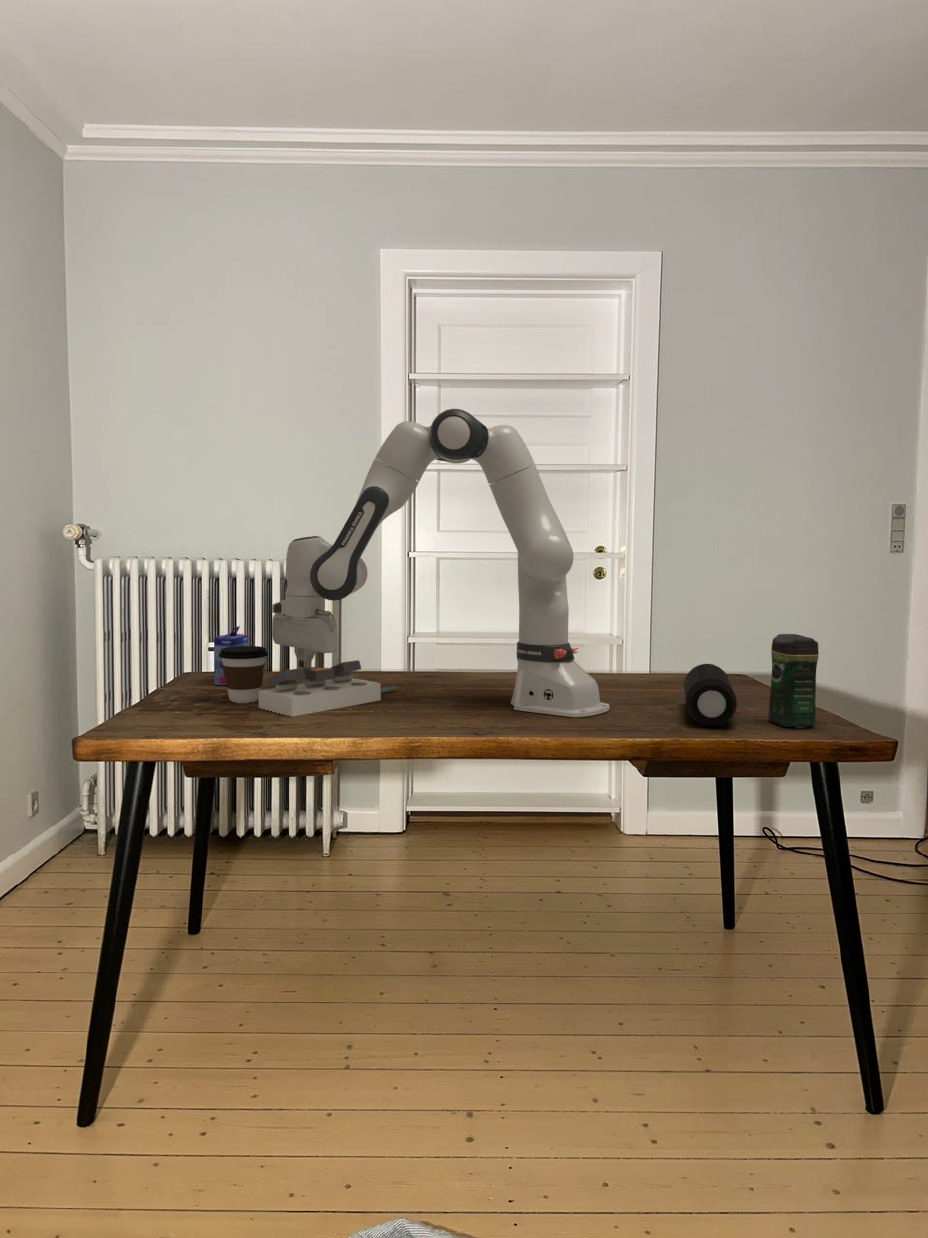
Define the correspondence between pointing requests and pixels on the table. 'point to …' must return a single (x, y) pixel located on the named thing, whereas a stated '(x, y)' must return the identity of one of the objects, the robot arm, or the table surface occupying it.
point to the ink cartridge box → (224, 642)
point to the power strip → (320, 695)
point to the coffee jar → (793, 680)
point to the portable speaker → (709, 695)
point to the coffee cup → (243, 672)
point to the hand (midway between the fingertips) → (304, 668)
